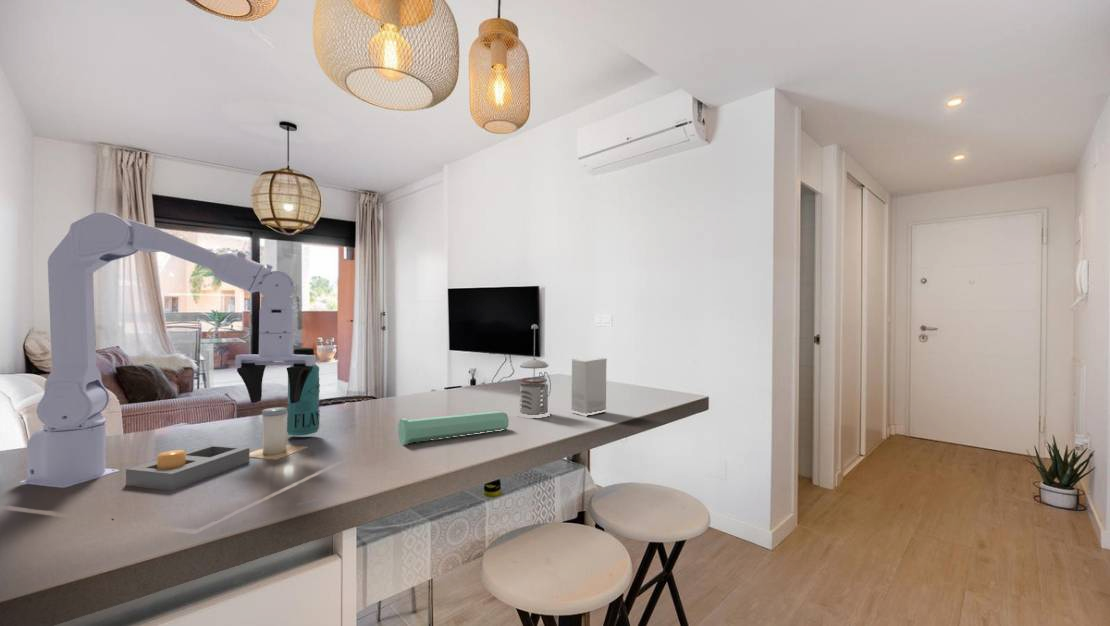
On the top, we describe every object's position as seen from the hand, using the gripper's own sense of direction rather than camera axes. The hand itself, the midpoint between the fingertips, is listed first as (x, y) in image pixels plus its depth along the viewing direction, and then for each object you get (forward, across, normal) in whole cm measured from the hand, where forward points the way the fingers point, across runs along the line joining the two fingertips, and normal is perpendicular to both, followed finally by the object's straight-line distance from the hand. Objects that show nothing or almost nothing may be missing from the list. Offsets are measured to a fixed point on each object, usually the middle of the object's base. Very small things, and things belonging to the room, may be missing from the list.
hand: (275, 402), depth 91 cm
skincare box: (+10, +65, +39) cm, 76 cm away
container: (+11, +33, +15) cm, 37 cm away
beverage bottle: (+10, -1, +11) cm, 15 cm away
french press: (+10, +50, +36) cm, 63 cm away
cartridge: (+10, 0, 0) cm, 10 cm away
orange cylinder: (+9, -8, -15) cm, 19 cm away
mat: (+10, 0, 0) cm, 10 cm away
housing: (+10, -7, -12) cm, 17 cm away
